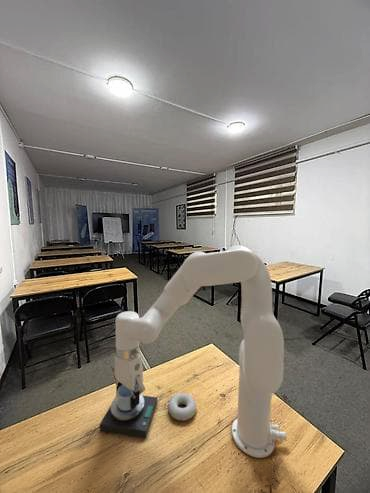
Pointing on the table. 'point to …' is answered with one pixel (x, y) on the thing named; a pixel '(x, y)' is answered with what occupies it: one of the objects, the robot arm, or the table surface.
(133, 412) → the scale pan
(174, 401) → the donut
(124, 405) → the light blue cup
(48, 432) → the table surface
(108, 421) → the scale
